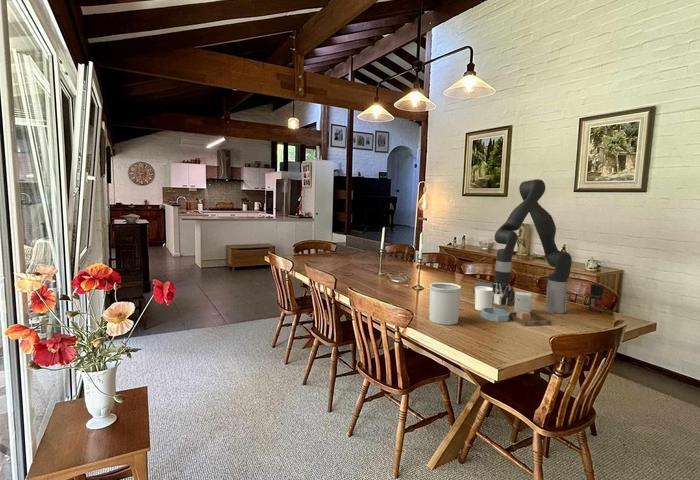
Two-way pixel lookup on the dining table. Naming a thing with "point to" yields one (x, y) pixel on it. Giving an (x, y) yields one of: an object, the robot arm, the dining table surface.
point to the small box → (523, 301)
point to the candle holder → (483, 297)
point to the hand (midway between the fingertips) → (500, 303)
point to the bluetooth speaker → (509, 299)
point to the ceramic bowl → (495, 314)
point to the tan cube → (523, 315)
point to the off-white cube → (498, 299)
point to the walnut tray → (531, 320)
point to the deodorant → (596, 298)
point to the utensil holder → (444, 303)
